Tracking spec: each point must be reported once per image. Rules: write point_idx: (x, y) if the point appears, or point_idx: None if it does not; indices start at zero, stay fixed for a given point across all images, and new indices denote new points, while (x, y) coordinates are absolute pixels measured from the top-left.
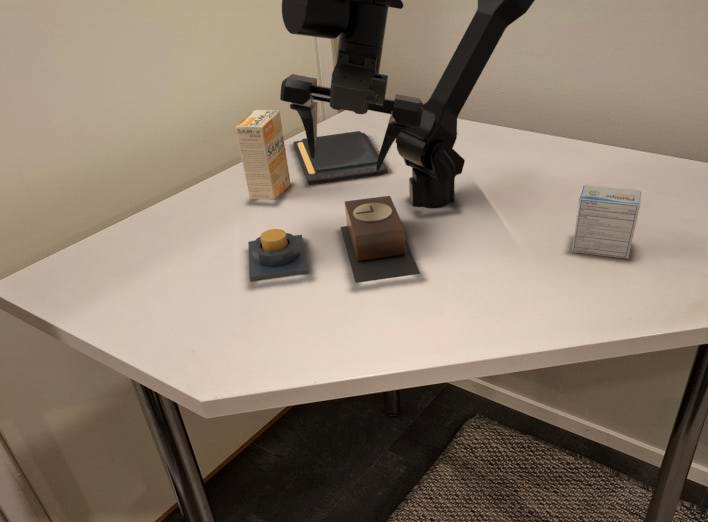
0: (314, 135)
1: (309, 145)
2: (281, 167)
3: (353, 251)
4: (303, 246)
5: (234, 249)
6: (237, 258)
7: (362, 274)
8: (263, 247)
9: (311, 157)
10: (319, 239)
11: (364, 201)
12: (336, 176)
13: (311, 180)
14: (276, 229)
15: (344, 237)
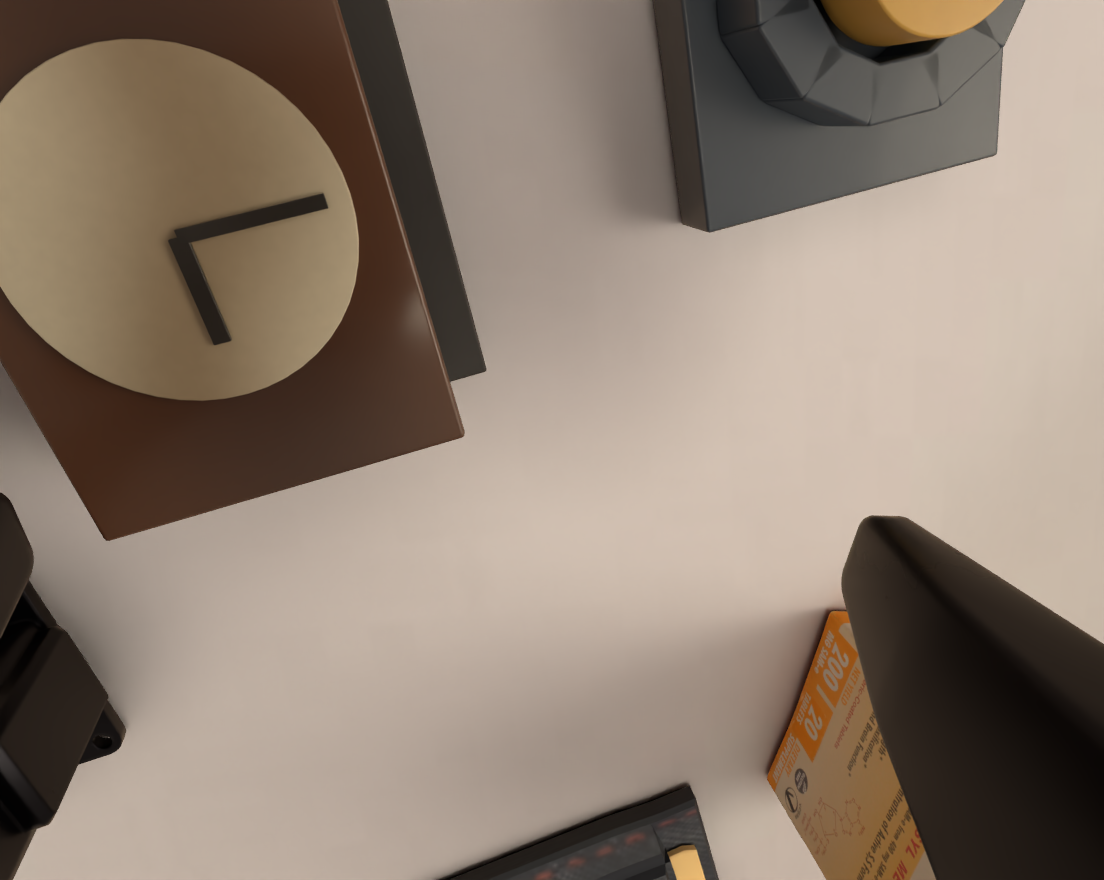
0: (1089, 793)
1: (1052, 616)
2: (857, 814)
3: (348, 29)
4: (692, 62)
5: (1020, 180)
6: (1014, 77)
7: None
8: None
9: (904, 521)
10: (596, 282)
11: (302, 436)
12: (569, 855)
13: (681, 807)
14: (928, 22)
15: (442, 234)
